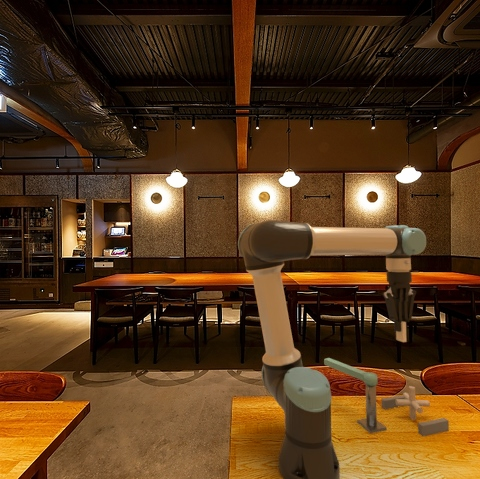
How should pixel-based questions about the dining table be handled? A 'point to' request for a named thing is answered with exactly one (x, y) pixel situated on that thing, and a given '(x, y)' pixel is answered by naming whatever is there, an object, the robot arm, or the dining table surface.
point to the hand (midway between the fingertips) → (401, 340)
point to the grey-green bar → (352, 371)
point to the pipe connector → (412, 402)
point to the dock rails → (423, 427)
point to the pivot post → (371, 412)
